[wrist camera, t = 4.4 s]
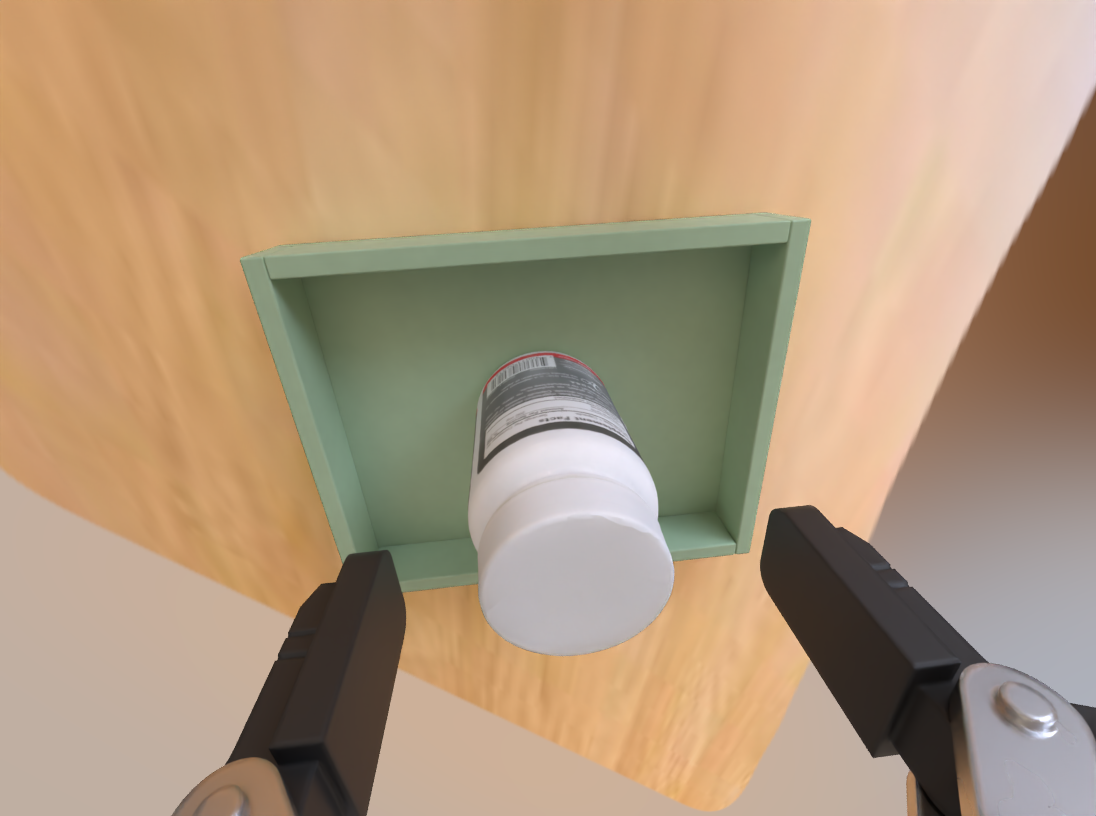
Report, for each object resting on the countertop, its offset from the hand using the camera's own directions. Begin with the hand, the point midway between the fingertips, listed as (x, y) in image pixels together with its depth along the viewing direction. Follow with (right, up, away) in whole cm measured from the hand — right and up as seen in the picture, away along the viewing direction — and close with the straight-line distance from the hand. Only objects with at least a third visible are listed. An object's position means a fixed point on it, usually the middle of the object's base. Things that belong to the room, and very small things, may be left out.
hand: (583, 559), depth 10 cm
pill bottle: (-1, +3, +7) cm, 8 cm away
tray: (-1, +3, +7) cm, 8 cm away
